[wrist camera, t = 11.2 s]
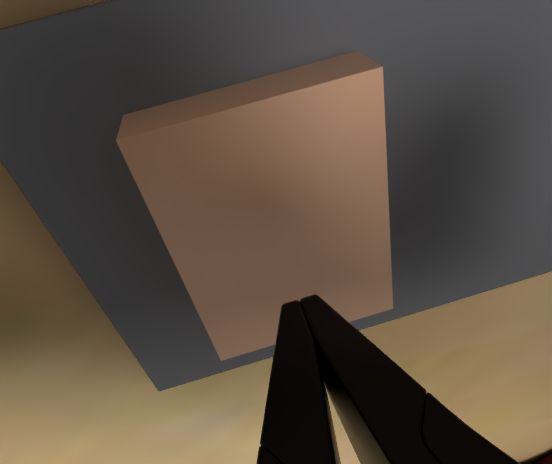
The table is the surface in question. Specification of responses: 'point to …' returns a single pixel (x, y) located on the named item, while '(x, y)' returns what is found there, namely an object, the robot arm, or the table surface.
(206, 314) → the tile
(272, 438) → the robot arm
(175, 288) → the mat
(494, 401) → the table surface
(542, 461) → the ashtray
